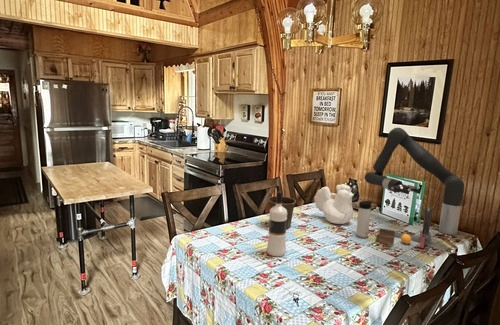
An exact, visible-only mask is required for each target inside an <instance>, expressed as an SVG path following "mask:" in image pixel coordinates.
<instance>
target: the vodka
mask: <svg viewBox="0 0 500 325" xmlns="http://www.w3.org/2000/svg"><path fill="white" fill-rule="evenodd" d="M276 196H277V197H276V206H274V207H272V208H271V209H270V208H269V219H268V220H269V222H268V223H269V224H268V232H267V233H268V240H267V246H266V252H267V254H268V255H270V256H271V257H283V256H285V255H286V253H287V246H286V238H287V233H286V232H287V229H286V220H287V210H286V209H285V208H284V207H282V196H283V192H282V191H276Z"/></svg>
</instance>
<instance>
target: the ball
mask: <svg viewBox="0 0 500 325" xmlns="http://www.w3.org/2000/svg"><path fill="white" fill-rule="evenodd" d="M403 234H404V235H402V236H401V238H400V240H401V242H402V243H403V244H406V245H407V244H410V243H411V241H412V240H411V237H410V236H409V235H410V234H408V233H403Z"/></svg>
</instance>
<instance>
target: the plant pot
mask: <svg viewBox="0 0 500 325" xmlns="http://www.w3.org/2000/svg"><path fill="white" fill-rule="evenodd" d="M276 197H277V195H276V196H269V197H268V199H267V200H268V207H269V210H270V209H271V208H272V207H274V206H276ZM296 203H297V200H295V199H294V198H292V197H288V196H283V195H282V207H284V208H285V209H286V210H287V220H286V230H288V229H291V227H292V226H291V225H292V219H293V214H294V209H295V205H296Z"/></svg>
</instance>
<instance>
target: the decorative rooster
mask: <svg viewBox="0 0 500 325" xmlns="http://www.w3.org/2000/svg"><path fill="white" fill-rule="evenodd" d="M335 189H336V193H335V192H331V191H330V188H329V187H328V186H324V187H321V189H318V190H317V191H316V194H315V195H314V203H315V206H316V208H318V211H320V212H322V213H323V216H324V217H325V219H326V220H327V221H328V222H329V223H331V224H338V225H344V224H347V223H349V222H350V221H351V220H352V219H353V216H354V208H353V197H354V196H355V194H354V193H352V191H351V189H352V188H351V186H350V185H347V184H345V183H342V184H337V185H336V186H335ZM333 196H334V198H333Z"/></svg>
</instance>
